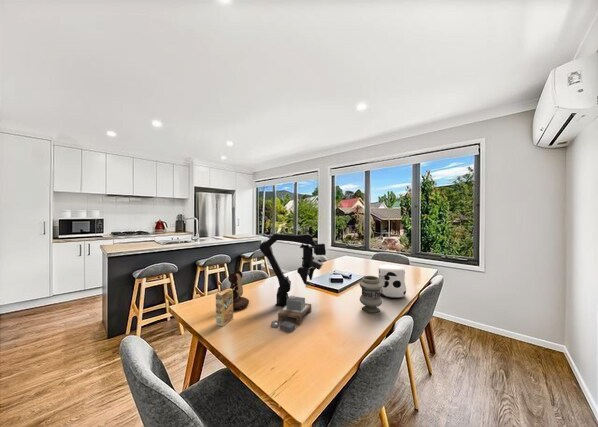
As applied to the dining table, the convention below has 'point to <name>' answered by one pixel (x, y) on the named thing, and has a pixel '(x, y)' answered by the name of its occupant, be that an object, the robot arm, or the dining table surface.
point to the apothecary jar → (371, 294)
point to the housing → (295, 303)
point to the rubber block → (287, 326)
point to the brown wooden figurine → (237, 290)
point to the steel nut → (275, 324)
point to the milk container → (392, 281)
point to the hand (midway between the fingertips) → (308, 281)
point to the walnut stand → (294, 313)
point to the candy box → (224, 307)
